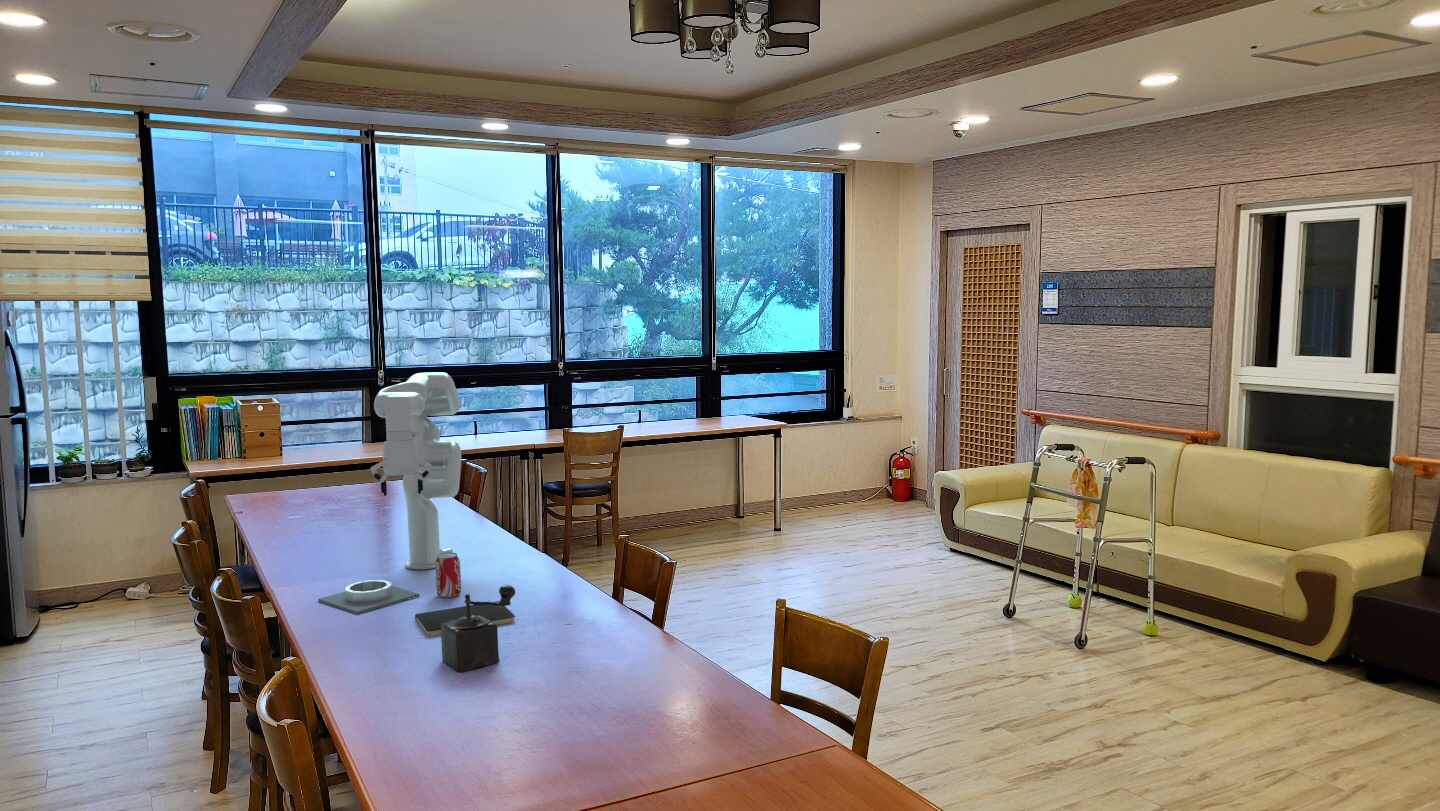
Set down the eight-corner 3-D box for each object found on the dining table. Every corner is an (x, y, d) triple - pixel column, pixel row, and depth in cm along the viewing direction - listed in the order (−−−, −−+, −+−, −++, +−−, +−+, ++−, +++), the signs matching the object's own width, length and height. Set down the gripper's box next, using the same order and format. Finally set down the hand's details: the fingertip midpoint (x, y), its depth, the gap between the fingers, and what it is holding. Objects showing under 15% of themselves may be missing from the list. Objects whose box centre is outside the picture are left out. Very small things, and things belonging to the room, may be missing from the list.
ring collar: (375, 587, 298) (375, 577, 297) (400, 594, 290) (399, 584, 290) (337, 597, 288) (336, 587, 288) (361, 605, 280) (361, 595, 280)
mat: (379, 585, 303) (379, 582, 303) (419, 596, 291) (419, 593, 290) (318, 601, 287) (318, 598, 287) (357, 614, 275) (357, 611, 275)
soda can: (454, 599, 287) (452, 558, 286) (432, 598, 289) (430, 557, 288) (465, 592, 294) (463, 552, 293) (443, 591, 296) (441, 551, 294)
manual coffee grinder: (459, 674, 230) (456, 598, 228) (440, 661, 239) (437, 587, 237) (521, 658, 239) (518, 585, 237) (500, 646, 248) (497, 575, 246)
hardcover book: (515, 624, 266) (515, 615, 266) (427, 639, 256) (427, 630, 255) (499, 608, 280) (498, 600, 280) (415, 621, 270) (414, 613, 270)
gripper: (430, 433, 299) (433, 490, 300) (369, 436, 294) (372, 494, 295) (430, 436, 291) (432, 494, 293) (367, 439, 287) (370, 498, 288)
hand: (402, 494), depth 294 cm, fingers open, 9 cm apart
